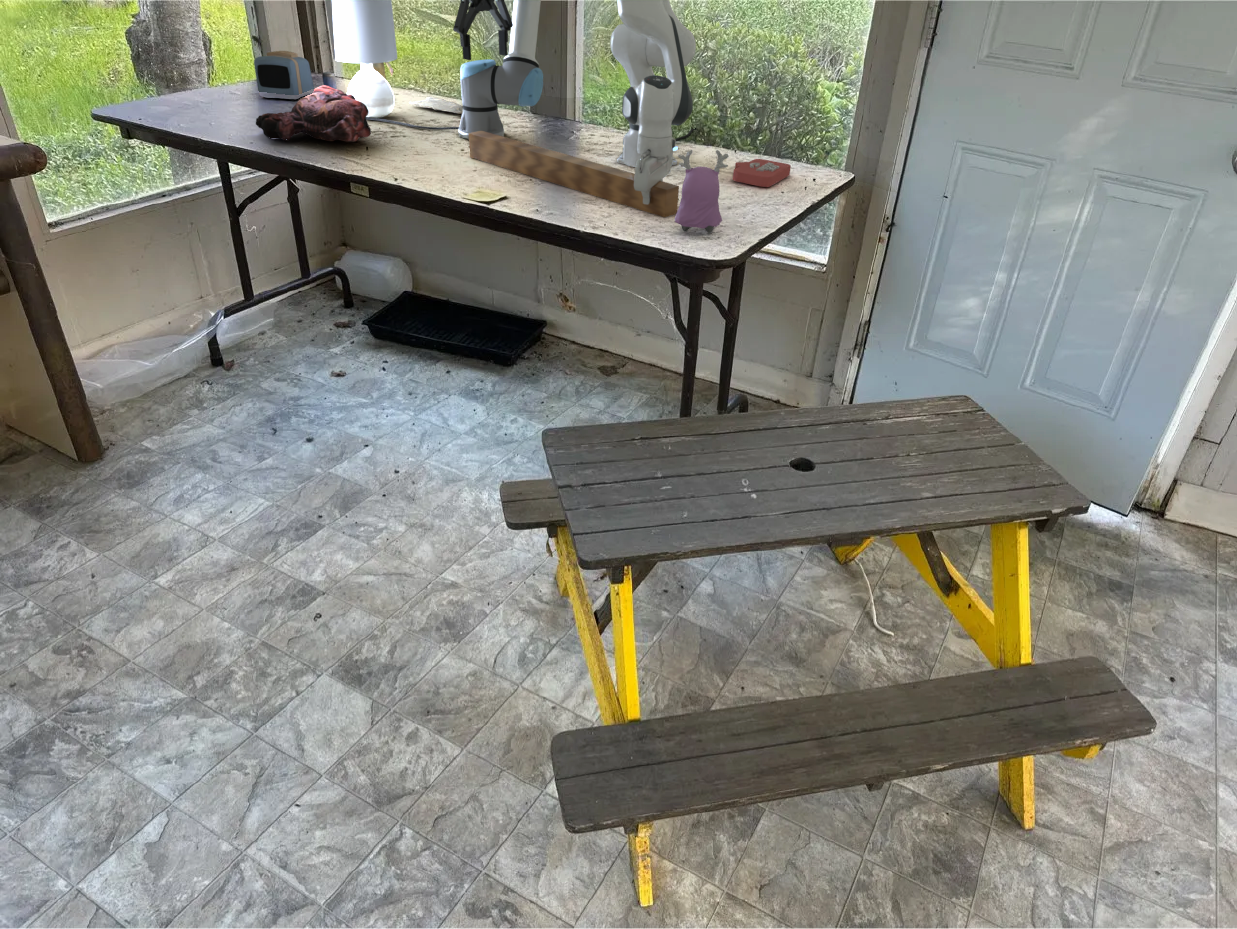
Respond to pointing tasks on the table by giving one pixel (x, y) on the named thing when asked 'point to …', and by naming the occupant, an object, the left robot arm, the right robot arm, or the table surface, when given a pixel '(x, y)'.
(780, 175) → the plaque
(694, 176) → the toy character
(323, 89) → the raw meat chunk
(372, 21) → the lamp
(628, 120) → the right robot arm
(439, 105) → the stone tool
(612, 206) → the table surface
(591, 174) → the post
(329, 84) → the beverage can
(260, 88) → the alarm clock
